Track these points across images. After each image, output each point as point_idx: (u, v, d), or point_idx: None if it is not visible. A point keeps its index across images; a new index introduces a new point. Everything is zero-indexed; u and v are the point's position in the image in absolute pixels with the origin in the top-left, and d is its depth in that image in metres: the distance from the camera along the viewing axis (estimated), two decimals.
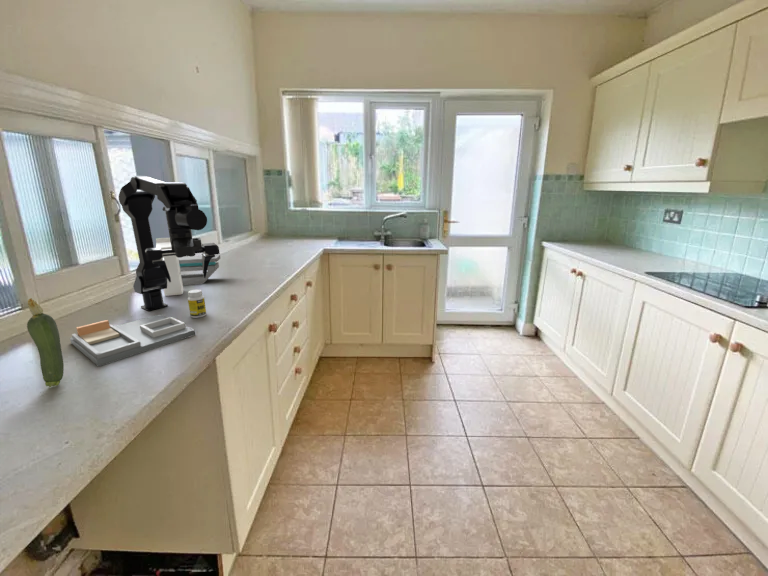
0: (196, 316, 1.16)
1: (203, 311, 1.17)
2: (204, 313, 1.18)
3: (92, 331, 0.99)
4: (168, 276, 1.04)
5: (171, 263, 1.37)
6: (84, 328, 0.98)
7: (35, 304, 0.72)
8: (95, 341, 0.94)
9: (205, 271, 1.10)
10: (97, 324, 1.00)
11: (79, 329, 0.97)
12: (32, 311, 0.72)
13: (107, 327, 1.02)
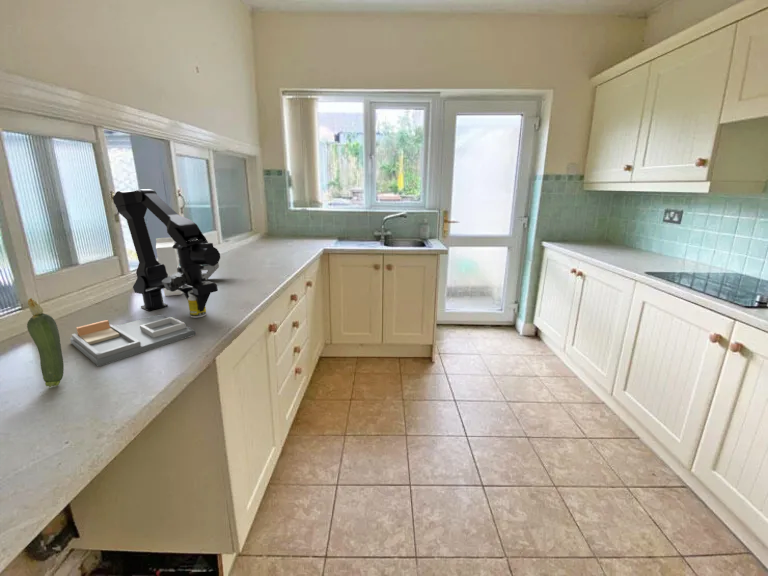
0: (196, 316, 1.16)
1: (203, 311, 1.17)
2: (204, 313, 1.18)
3: (92, 331, 0.99)
4: None
5: (171, 263, 1.37)
6: (84, 328, 0.98)
7: (35, 304, 0.72)
8: (95, 341, 0.94)
9: (198, 306, 1.15)
10: (97, 324, 1.00)
11: (79, 329, 0.97)
12: (32, 311, 0.72)
13: (107, 327, 1.02)
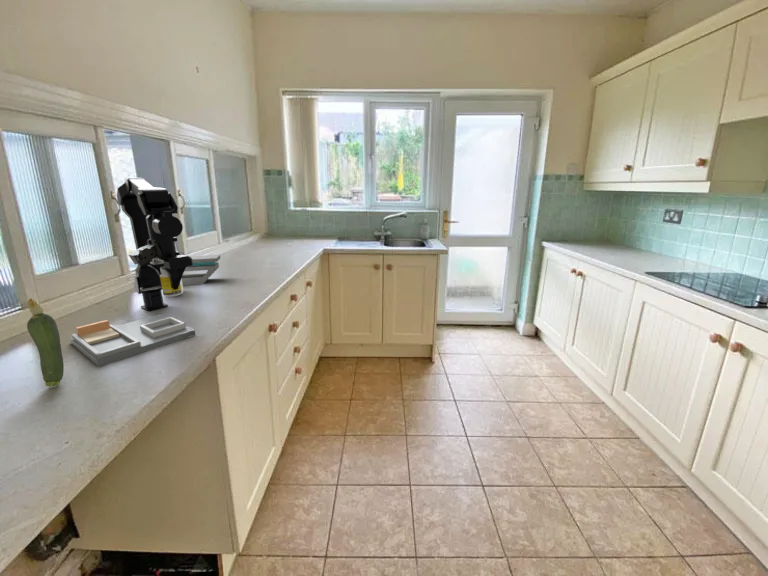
0: (170, 295, 1.04)
1: (178, 289, 1.05)
2: (179, 292, 1.05)
3: (92, 331, 0.99)
4: None
5: None
6: (84, 328, 0.98)
7: (35, 304, 0.72)
8: (95, 341, 0.94)
9: (171, 283, 1.03)
10: (97, 324, 1.00)
11: (79, 329, 0.97)
12: (32, 311, 0.72)
13: (107, 327, 1.02)
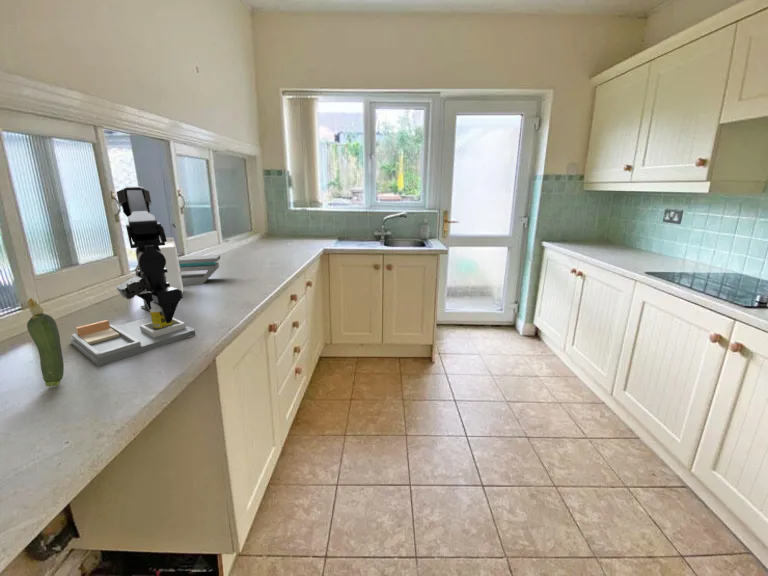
0: None
1: (169, 324, 1.03)
2: (169, 326, 1.03)
3: (92, 331, 0.99)
4: (149, 310, 1.04)
5: (171, 263, 1.37)
6: (84, 328, 0.98)
7: (35, 304, 0.72)
8: (95, 341, 0.94)
9: (164, 317, 0.99)
10: (97, 324, 1.00)
11: (79, 329, 0.97)
12: (32, 311, 0.72)
13: (107, 327, 1.02)
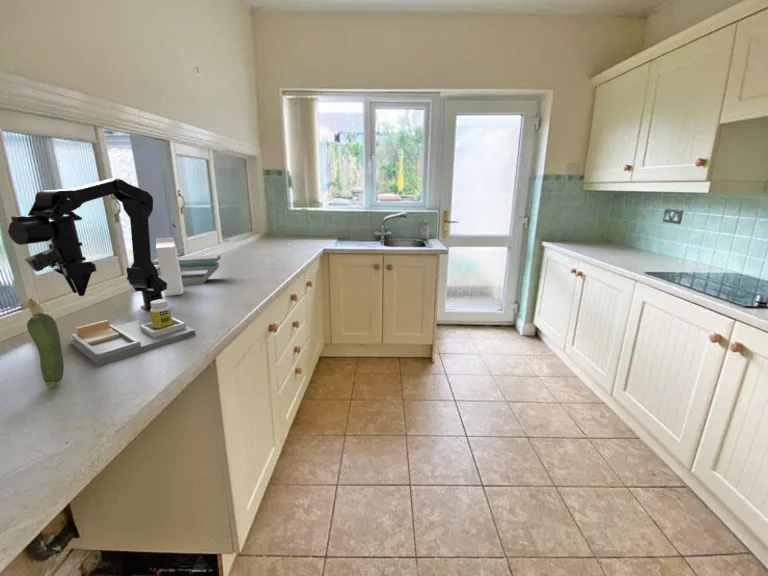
0: None
1: (169, 324, 1.03)
2: (169, 326, 1.03)
3: (92, 331, 0.99)
4: (70, 286, 1.02)
5: (171, 263, 1.37)
6: (84, 328, 0.98)
7: (35, 304, 0.72)
8: (95, 341, 0.94)
9: (76, 289, 0.98)
10: (97, 324, 1.00)
11: (79, 329, 0.97)
12: (32, 311, 0.72)
13: (107, 327, 1.02)
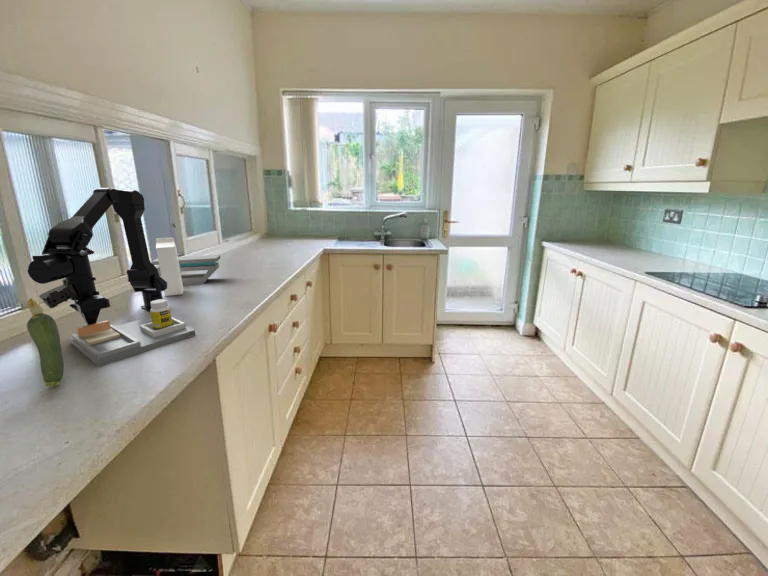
0: None
1: (169, 324, 1.03)
2: (169, 326, 1.03)
3: (93, 331, 0.99)
4: None
5: (171, 263, 1.37)
6: (85, 328, 0.97)
7: (35, 304, 0.72)
8: (96, 341, 0.94)
9: (86, 322, 0.99)
10: (98, 324, 1.00)
11: (80, 329, 0.96)
12: (32, 311, 0.72)
13: (108, 327, 1.01)
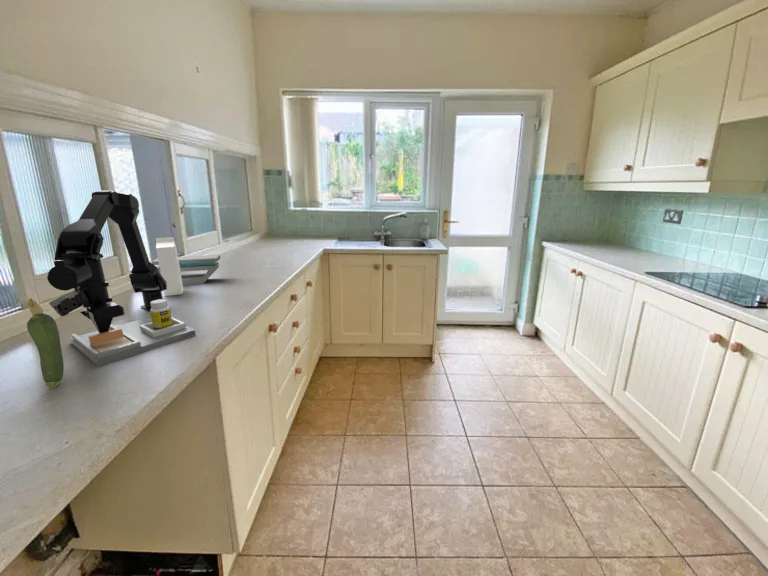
0: None
1: (169, 324, 1.03)
2: (169, 326, 1.03)
3: (105, 340, 0.93)
4: None
5: (171, 263, 1.37)
6: (97, 337, 0.92)
7: (35, 304, 0.72)
8: None
9: (98, 330, 0.93)
10: (110, 333, 0.94)
11: (91, 338, 0.91)
12: (32, 311, 0.72)
13: (120, 336, 0.96)
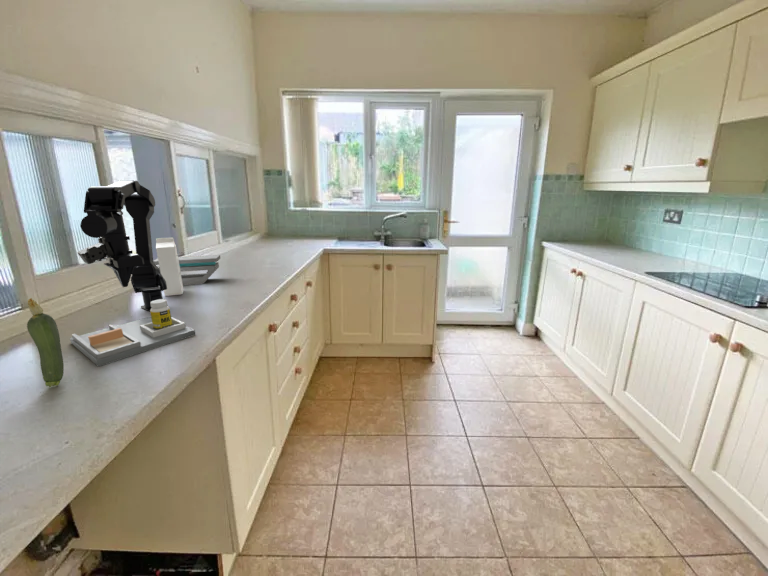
0: None
1: (169, 324, 1.03)
2: (169, 326, 1.03)
3: (105, 340, 0.93)
4: (119, 280, 1.04)
5: (171, 263, 1.37)
6: (97, 337, 0.92)
7: (35, 304, 0.72)
8: None
9: (120, 280, 1.03)
10: (110, 333, 0.94)
11: (91, 338, 0.91)
12: (32, 311, 0.72)
13: (120, 336, 0.96)
